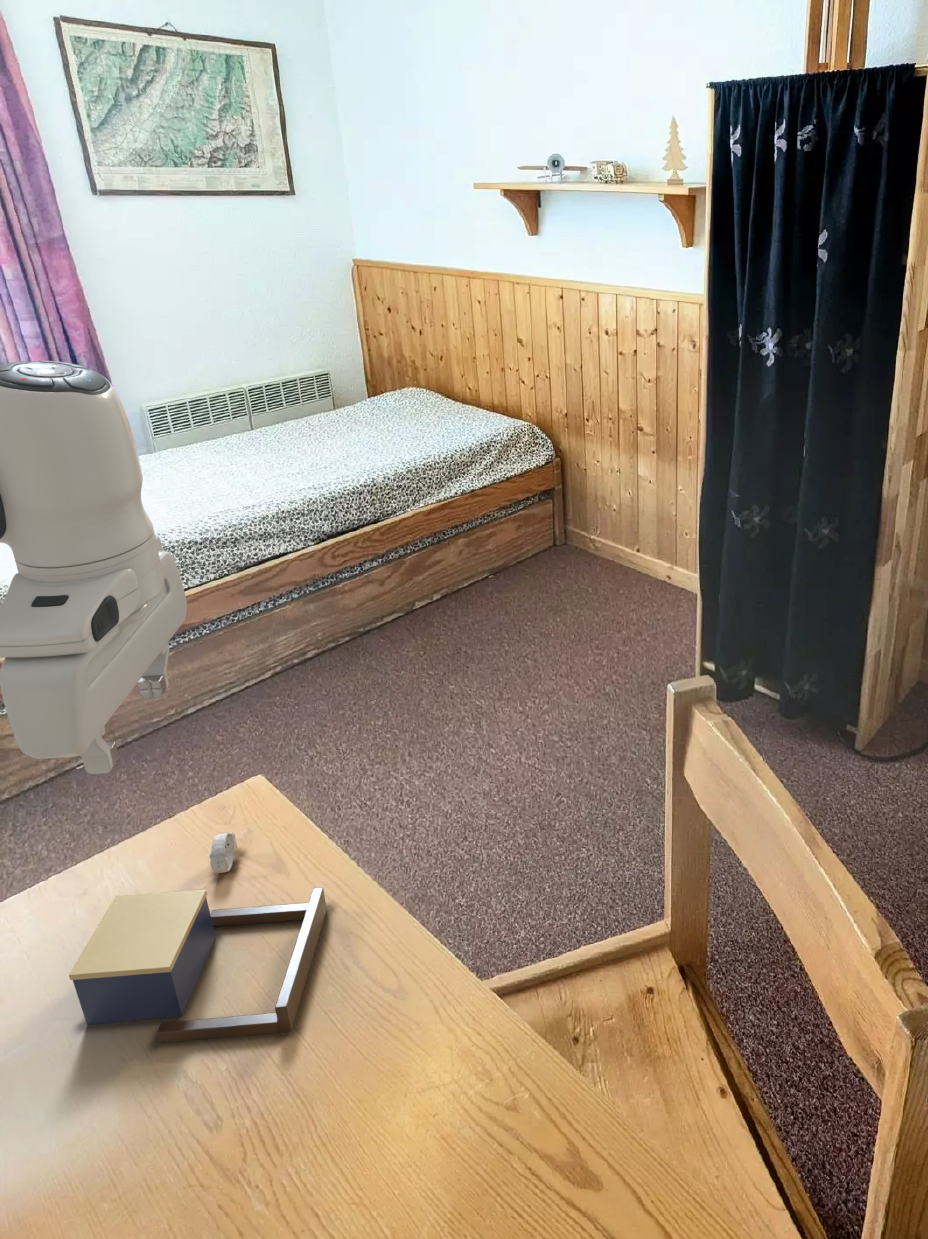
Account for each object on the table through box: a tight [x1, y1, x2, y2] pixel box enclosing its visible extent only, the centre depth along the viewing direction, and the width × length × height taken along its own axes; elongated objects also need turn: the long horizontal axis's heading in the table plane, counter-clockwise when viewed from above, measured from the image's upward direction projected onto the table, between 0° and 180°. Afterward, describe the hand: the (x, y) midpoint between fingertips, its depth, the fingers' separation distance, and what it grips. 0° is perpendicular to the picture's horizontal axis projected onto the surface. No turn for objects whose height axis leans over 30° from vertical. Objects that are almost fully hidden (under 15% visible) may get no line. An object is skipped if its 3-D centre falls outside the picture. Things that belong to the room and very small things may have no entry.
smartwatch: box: [209, 831, 238, 874], centre depth 88 cm, size 4×2×4 cm, turn 13°
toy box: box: [68, 888, 217, 1025], centre depth 75 cm, size 8×8×6 cm
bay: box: [156, 887, 328, 1044], centre depth 76 cm, size 11×13×3 cm
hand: (131, 728), depth 67 cm, fingers open, 8 cm apart
